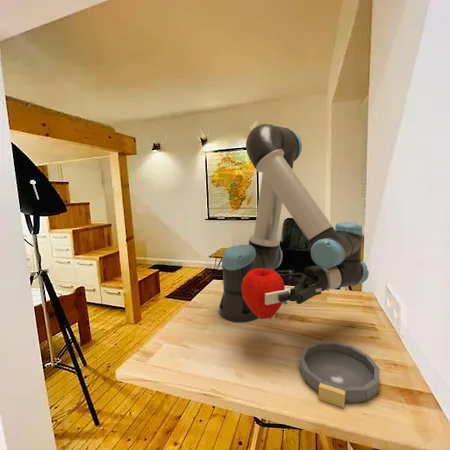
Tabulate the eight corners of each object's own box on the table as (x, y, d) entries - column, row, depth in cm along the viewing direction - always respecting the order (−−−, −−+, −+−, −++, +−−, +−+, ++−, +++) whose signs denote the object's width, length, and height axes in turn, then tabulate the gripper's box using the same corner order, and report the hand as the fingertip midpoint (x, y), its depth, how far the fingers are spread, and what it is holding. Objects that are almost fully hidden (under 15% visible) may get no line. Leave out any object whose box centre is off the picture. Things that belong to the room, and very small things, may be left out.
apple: (232, 314, 75) (231, 268, 73) (262, 302, 82) (262, 260, 80) (262, 332, 66) (262, 281, 64) (293, 317, 73) (294, 270, 71)
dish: (290, 389, 60) (290, 377, 59) (309, 345, 75) (309, 335, 75) (378, 420, 51) (379, 406, 51) (379, 364, 67) (379, 353, 66)
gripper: (351, 307, 69) (277, 324, 61) (296, 276, 91) (237, 286, 84) (353, 279, 67) (278, 294, 60) (296, 255, 90) (236, 263, 83)
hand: (254, 289), depth 72 cm, fingers closed on apple, 12 cm apart
